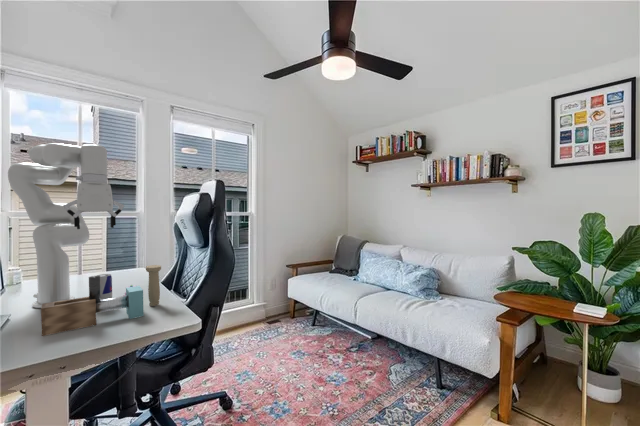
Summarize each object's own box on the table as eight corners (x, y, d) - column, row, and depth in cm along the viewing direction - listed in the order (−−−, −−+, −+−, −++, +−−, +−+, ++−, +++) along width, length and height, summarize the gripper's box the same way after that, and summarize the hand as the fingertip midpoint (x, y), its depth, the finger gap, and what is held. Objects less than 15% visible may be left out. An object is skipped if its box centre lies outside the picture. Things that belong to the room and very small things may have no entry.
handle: (150, 308, 111) (149, 268, 111) (144, 305, 116) (144, 266, 115) (163, 305, 115) (163, 266, 114) (158, 302, 119) (157, 264, 119)
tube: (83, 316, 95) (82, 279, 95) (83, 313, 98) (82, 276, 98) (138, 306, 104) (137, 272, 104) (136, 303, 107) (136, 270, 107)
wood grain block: (41, 336, 88) (41, 308, 88) (43, 329, 93) (42, 303, 92) (96, 324, 96) (95, 299, 96) (95, 319, 101) (94, 295, 101)
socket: (129, 318, 101) (129, 292, 101) (126, 312, 107) (125, 287, 107) (143, 316, 104) (143, 290, 103) (139, 310, 110) (139, 285, 110)
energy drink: (115, 305, 115) (114, 274, 115) (100, 309, 111) (99, 277, 110) (107, 303, 118) (106, 273, 118) (92, 308, 113) (91, 276, 113)
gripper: (62, 178, 98) (63, 230, 99) (124, 180, 109) (125, 227, 110) (62, 179, 104) (64, 229, 104) (122, 182, 115) (123, 226, 115)
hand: (95, 228), depth 107 cm, fingers open, 9 cm apart
